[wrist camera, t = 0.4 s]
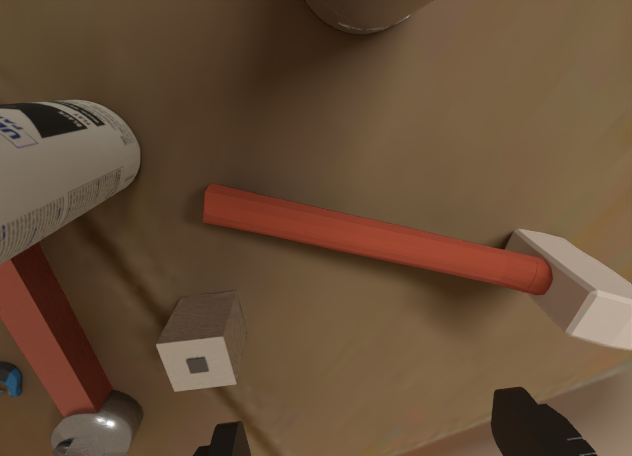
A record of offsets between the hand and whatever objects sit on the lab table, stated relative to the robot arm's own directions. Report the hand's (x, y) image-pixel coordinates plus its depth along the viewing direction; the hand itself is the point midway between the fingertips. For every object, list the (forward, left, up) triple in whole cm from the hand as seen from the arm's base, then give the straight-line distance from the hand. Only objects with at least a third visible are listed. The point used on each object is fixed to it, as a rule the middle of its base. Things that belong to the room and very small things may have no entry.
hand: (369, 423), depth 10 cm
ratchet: (+10, -25, -18) cm, 32 cm away
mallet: (+2, +6, -18) cm, 19 cm away
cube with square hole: (+9, -11, -18) cm, 23 cm away
